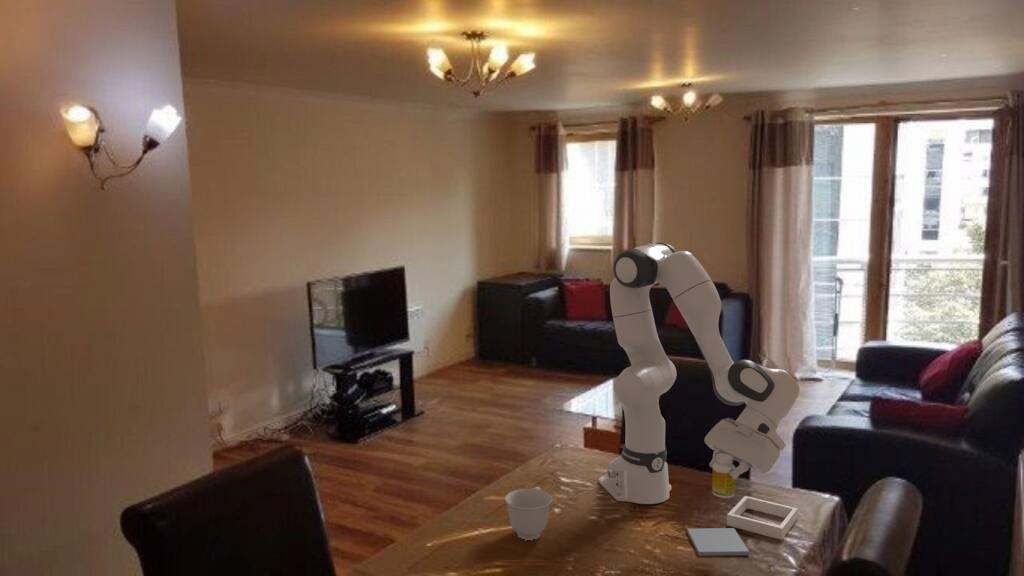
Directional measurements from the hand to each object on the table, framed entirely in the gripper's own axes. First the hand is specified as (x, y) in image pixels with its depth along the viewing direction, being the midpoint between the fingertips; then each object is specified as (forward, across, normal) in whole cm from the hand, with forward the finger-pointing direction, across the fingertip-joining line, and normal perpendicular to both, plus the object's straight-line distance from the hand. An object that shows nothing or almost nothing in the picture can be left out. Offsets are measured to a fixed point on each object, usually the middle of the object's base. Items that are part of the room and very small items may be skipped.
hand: (721, 472), depth 182 cm
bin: (0, -4, +26) cm, 26 cm away
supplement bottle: (+4, 0, +5) cm, 6 cm away
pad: (+13, 0, +12) cm, 18 cm away
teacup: (+41, -26, -15) cm, 51 cm away
